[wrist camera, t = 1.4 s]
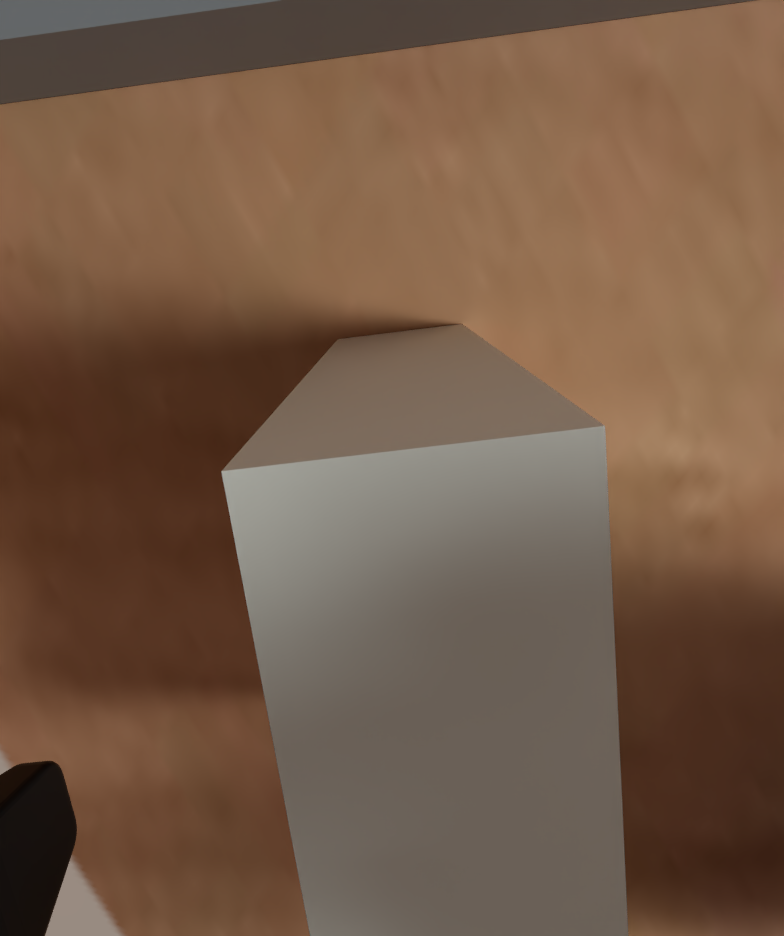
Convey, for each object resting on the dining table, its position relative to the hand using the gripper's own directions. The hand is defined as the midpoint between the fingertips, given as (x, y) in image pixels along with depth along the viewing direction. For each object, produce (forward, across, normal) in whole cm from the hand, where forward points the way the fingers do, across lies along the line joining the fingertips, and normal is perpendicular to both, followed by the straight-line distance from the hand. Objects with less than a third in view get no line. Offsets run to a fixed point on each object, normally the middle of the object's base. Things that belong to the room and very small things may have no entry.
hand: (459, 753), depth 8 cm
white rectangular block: (+8, 0, 0) cm, 8 cm away
